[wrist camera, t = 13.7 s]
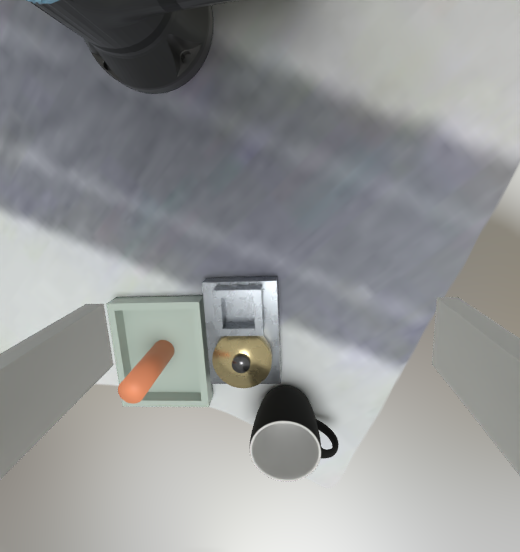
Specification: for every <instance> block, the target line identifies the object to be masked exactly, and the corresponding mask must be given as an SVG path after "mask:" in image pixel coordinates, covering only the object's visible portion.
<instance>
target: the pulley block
mask: <svg viewBox="0 0 520 552" xmlns="http://www.w3.org/2000/svg"><path fill="white" fill-rule="evenodd" d="M202 290H203V301H204V312H205V323H206V334H207V345H208V356H209V367H210V378H211V384H229V385H231V386H233V387H237V388H250V387H253V386H256V385H258V384H281V359H280V332H279V305H278V278H277V276H270V277H232V278H206V279H205V280H204V281H203V282H202Z"/></svg>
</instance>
